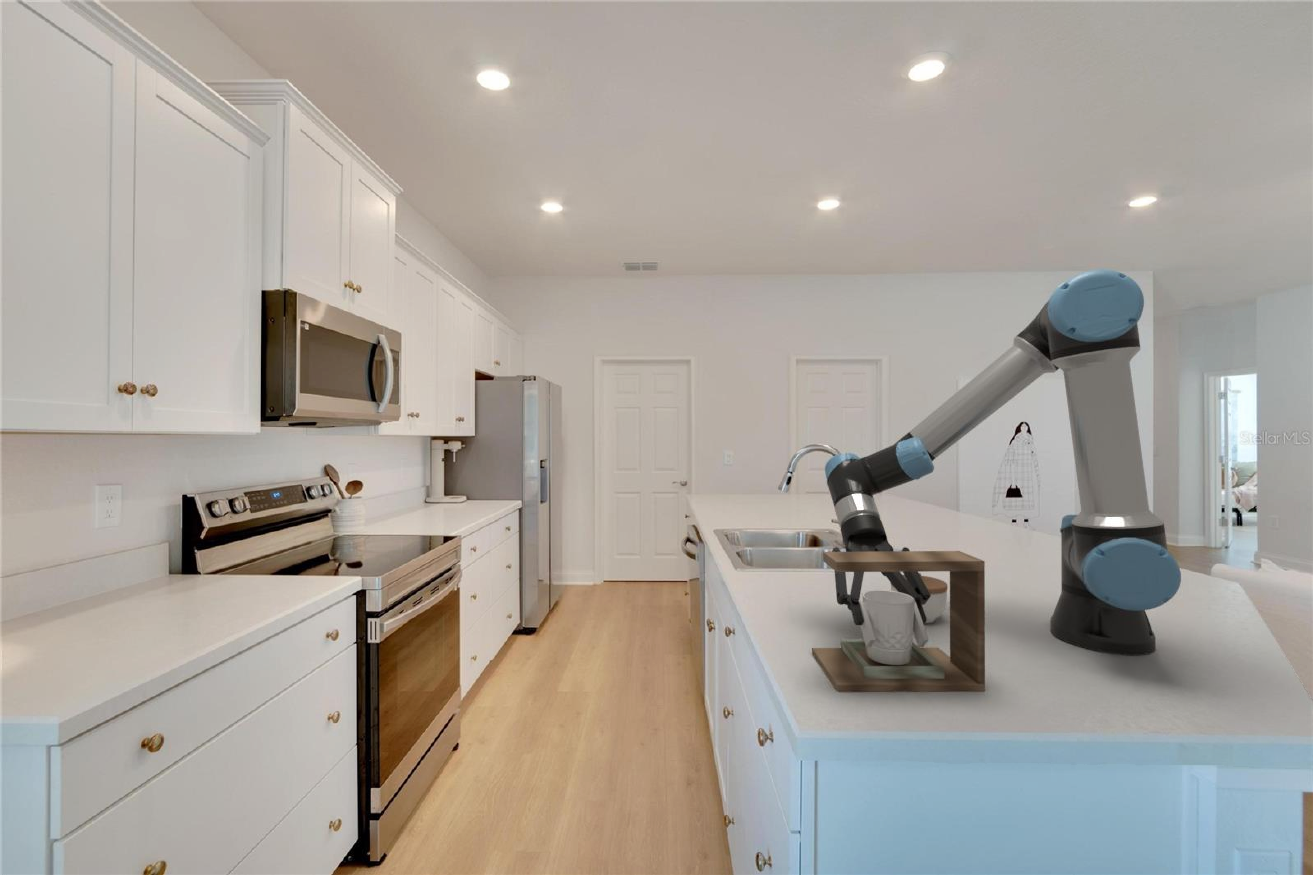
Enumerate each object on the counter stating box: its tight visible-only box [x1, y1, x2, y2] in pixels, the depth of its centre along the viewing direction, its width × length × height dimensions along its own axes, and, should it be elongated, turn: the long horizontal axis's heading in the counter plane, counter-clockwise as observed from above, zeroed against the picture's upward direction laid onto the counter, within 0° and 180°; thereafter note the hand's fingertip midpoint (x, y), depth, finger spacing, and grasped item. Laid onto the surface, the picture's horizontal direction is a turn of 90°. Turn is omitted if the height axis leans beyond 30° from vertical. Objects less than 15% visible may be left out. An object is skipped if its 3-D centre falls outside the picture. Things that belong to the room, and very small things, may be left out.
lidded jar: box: [889, 572, 948, 624], centre depth 114 cm, size 11×11×9 cm
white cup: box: [862, 589, 915, 665], centre depth 90 cm, size 8×8×10 cm
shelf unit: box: [811, 550, 986, 693], centre depth 89 cm, size 22×14×20 cm, turn 89°
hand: (897, 643), depth 86 cm, fingers closed on white cup, 8 cm apart
